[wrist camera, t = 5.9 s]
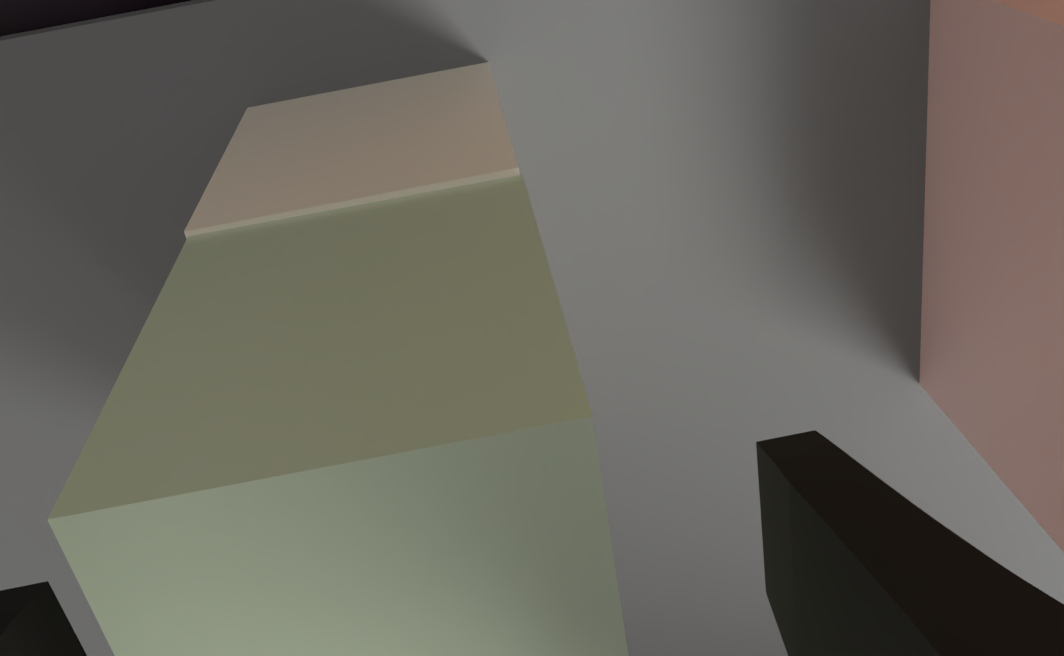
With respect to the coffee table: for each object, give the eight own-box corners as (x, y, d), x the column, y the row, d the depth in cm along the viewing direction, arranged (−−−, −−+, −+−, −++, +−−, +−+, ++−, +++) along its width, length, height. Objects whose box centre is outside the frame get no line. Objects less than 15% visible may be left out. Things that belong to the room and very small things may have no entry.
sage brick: (602, 653, 14) (681, 1010, 10) (350, 703, 14) (326, 1081, 10) (522, 174, 10) (591, 416, 6) (188, 235, 10) (48, 519, 6)
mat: (1054, 752, 24) (1064, 766, 24) (134, 939, 24) (129, 956, 23) (1180, -185, 14) (1200, -185, 14) (-373, 106, 14) (-393, 114, 14)
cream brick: (559, 454, 18) (603, 648, 14) (364, 493, 18) (350, 699, 14) (488, 61, 14) (518, 167, 10) (247, 107, 14) (184, 231, 10)
